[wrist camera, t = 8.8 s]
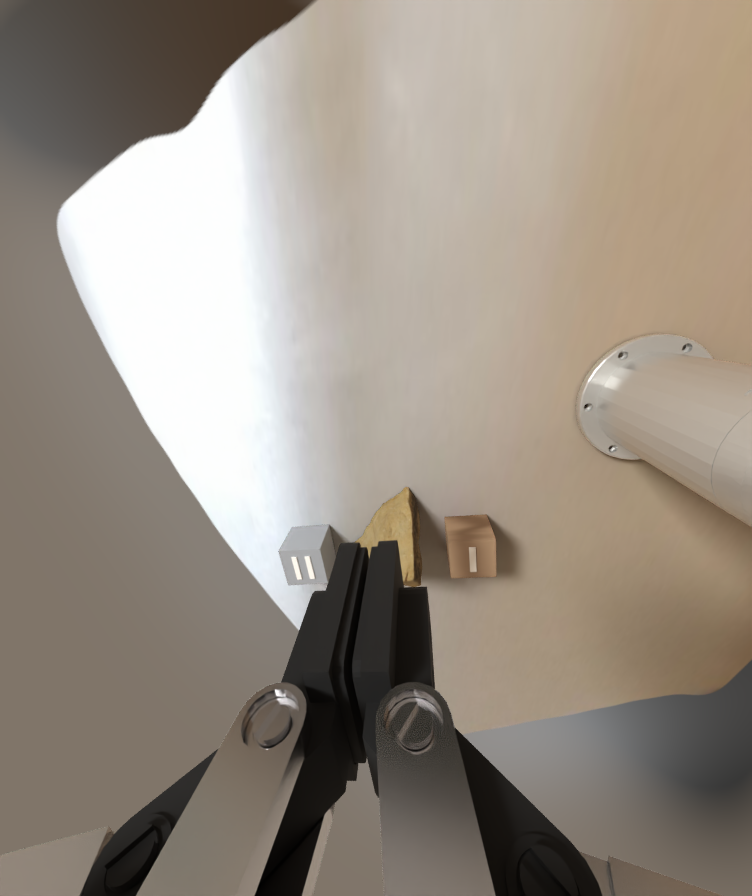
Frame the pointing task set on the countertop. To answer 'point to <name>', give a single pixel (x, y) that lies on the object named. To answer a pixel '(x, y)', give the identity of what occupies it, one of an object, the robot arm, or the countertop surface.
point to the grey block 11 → (308, 555)
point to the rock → (398, 533)
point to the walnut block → (470, 546)
